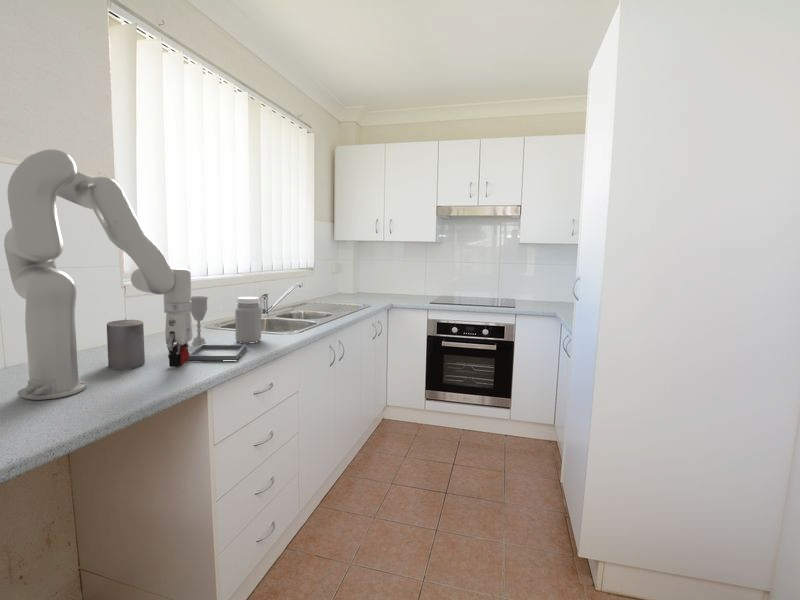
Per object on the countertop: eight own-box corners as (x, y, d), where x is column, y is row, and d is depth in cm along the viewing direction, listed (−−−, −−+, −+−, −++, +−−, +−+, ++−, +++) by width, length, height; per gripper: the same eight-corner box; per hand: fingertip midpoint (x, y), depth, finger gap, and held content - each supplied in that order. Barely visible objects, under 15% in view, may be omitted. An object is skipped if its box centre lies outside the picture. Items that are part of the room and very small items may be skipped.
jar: (261, 343, 165) (261, 299, 163) (235, 344, 162) (235, 299, 159) (260, 338, 174) (260, 296, 172) (235, 339, 170) (235, 296, 168)
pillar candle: (111, 362, 132) (109, 316, 130) (146, 359, 136) (145, 315, 134) (105, 371, 123) (102, 322, 121) (143, 368, 128) (141, 320, 126)
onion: (193, 364, 133) (192, 340, 132) (182, 370, 127) (181, 344, 126) (176, 363, 133) (175, 339, 132) (164, 368, 128) (163, 343, 127)
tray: (236, 361, 139) (236, 355, 139) (185, 361, 136) (185, 355, 136) (246, 349, 154) (246, 344, 154) (201, 349, 152) (201, 344, 152)
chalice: (184, 343, 160) (183, 297, 158) (198, 339, 166) (197, 295, 164) (200, 345, 158) (199, 299, 155) (213, 341, 164) (212, 297, 162)
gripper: (180, 312, 120) (181, 371, 122) (199, 303, 137) (200, 356, 139) (152, 311, 119) (154, 371, 121) (175, 303, 136) (176, 356, 138)
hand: (179, 363), depth 130 cm, fingers closed on onion, 5 cm apart
